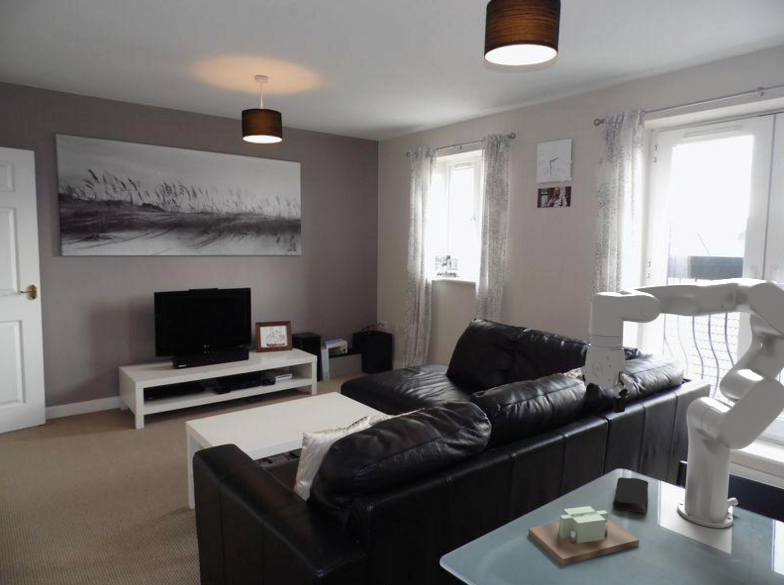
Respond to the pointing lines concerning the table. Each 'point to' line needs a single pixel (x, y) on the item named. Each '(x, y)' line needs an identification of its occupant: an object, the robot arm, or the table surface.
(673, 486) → the table surface
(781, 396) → the robot arm
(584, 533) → the green grooved block
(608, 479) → the table surface
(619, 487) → the black sponge
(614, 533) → the pin plate
